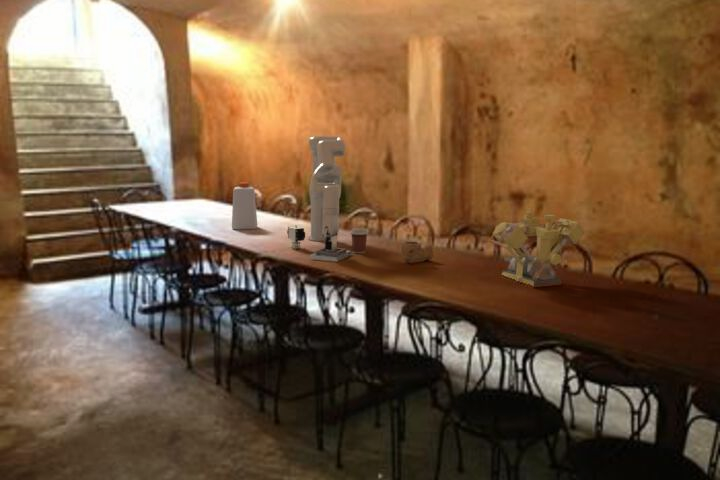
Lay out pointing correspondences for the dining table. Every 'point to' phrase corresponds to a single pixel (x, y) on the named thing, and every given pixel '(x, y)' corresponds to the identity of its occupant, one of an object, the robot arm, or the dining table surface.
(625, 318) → the dining table surface
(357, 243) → the coffee cup
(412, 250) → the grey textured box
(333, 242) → the pump
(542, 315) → the dining table surface
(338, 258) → the motor base
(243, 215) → the plastic bottle
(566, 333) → the dining table surface
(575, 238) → the mechanical engine
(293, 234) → the pneumatic valve
